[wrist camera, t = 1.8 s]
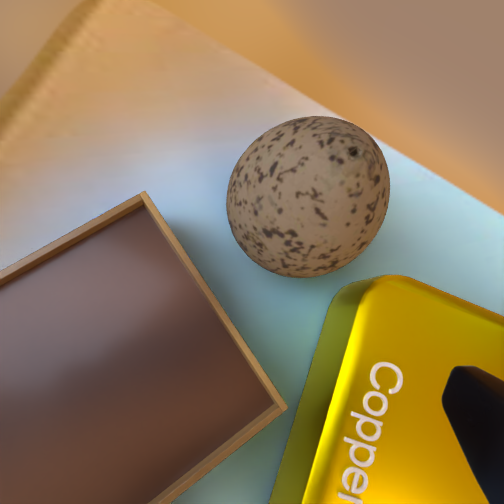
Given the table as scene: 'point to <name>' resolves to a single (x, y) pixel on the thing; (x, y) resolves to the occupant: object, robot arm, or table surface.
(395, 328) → the element tile
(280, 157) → the decorative egg
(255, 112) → the table surface
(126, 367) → the shallow square tray
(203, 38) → the table surface
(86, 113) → the table surface
